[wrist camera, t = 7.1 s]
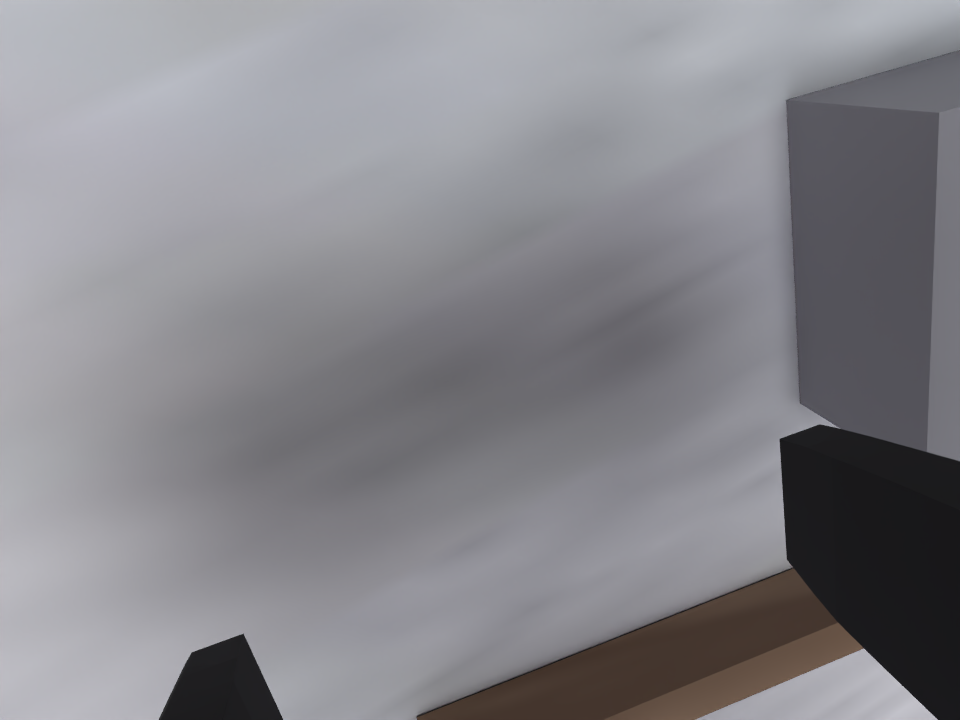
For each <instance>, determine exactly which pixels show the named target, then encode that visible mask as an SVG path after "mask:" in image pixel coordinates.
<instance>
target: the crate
mask: <svg viewBox="0 0 960 720" xmlns="http://www.w3.org/2000/svg"><path fill="white" fill-rule="evenodd" d="M786 104H787V126H788V148H789V170H790V193H791V215H792V237H793V259H794V281H795V303H796V326H797V348H798V370H799V392H800V403H801V404H802V405H804V406H806V407H807V408H809V409H810V410H812V411H814V412H815V413H817V414H818V415H820V416H821V417H823V418H825V419H826V420H828V421H829V422H831V423H832V424H834V425H836V426H837V427H839V428H840V429H843V430H847V431H851V432H855V433H859V434H863V435H867V436H871V437H874V438H878V439H882V440H885V441H889V442H893V443H896V444H900V445H904V446H907V447H911V448H914V449H918V450H921V451H925V452H929V453H932V454H936V455H939V456H943V457H946V458H950V459H954V460H957V461H960V50H959V51H955V52H952V53H948V54H945V55H941V56H938V57H934V58H931V59H927V60H924V61H920V62H917V63H913V64H910V65H906V66H903V67H900V68H896V69H893V70H889V71H886V72H882V73H879V74H875V75H872V76H868V77H865V78H861V79H858V80H854V81H851V82H847V83H844V84H840V85H837V86H833V87H830V88H826V89H823V90H819V91H816V92H812V93H809V94H805V95H802V96H798V97H795V98H791V99H788V100H786Z"/></svg>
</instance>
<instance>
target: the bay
mask: <svg viewBox="0 0 960 720" xmlns="http://www.w3.org/2000/svg"><path fill="white" fill-rule="evenodd" d="M861 649H863V647H862V646H861V645H860V644H859V643H858V642H857V641H856V640H855V639H854V638H853V637H852V636H851V635H850V634H849V633H848V632H847V631H846V630H845V629H844V628H843V627H842V626H841V625H840V624H839V623H838V622H837V621H836V620H835V619H834V617H833V616H832V615H831V614H830V613H829V611H828V610H827V609H826V608H825V607H824V605H823V604H822V603H821V602H820V601H819V599H818V598H817V597H816V596H815V595H814V593H813V592H812V591H811V590H810V588H809V587H808V586H807V584H806V583H805V582H804V581H803V579H802V578H801V577H800V575H799V574H798V573H797V572H796V570H795V569H794V568H793V569H791V570H788V571H786V572H783V573H781V574H778V575H775V576H773V577H770V578H768V579H765V580H763V581H760V582H758V583H755V584H753V585H750V586H748V587H745V588H743V589H740V590H738V591H735V592H732V593H730V594H727V595H725V596H722V597H720V598H717V599H715V600H712V601H710V602H707V603H705V604H702V605H700V606H697V607H695V608H692V609H689V610H687V611H684V612H682V613H679V614H677V615H674V616H672V617H669V618H667V619H664V620H662V621H659V622H657V623H654V624H652V625H649V626H646V627H644V628H641V629H639V630H636V631H634V632H631V633H629V634H626V635H624V636H621V637H619V638H616V639H614V640H611V641H608V642H606V643H603V644H601V645H598V646H596V647H593V648H591V649H588V650H586V651H583V652H581V653H578V654H576V655H573V656H571V657H568V658H565V659H563V660H560V661H558V662H555V663H553V664H550V665H548V666H545V667H543V668H540V669H538V670H535V671H533V672H530V673H528V674H525V675H522V676H520V677H517V678H515V679H512V680H510V681H507V682H505V683H502V684H500V685H497V686H495V687H492V688H490V689H487V690H485V691H482V692H479V693H477V694H474V695H472V696H469V697H467V698H464V699H462V700H459V701H457V702H454V703H452V704H449V705H447V706H444V707H442V708H439V709H436V710H434V711H431V712H429V713H426V714H424V715H421V716H419V717H417V720H695V719H697V718H700V717H702V716H704V715H707V714H709V713H712V712H714V711H716V710H719V709H721V708H723V707H726V706H728V705H731V704H733V703H735V702H738V701H740V700H742V699H745V698H747V697H749V696H752V695H754V694H757V693H759V692H761V691H764V690H766V689H768V688H771V687H773V686H776V685H778V684H780V683H783V682H785V681H787V680H790V679H792V678H795V677H797V676H799V675H802V674H804V673H806V672H809V671H811V670H813V669H816V668H818V667H821V666H823V665H825V664H828V663H830V662H832V661H835V660H837V659H840V658H842V657H844V656H847V655H849V654H851V653H854V652H856V651H859V650H861Z"/></svg>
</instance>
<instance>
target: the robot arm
mask: <svg viewBox="0 0 960 720" xmlns="http://www.w3.org/2000/svg"><path fill="white" fill-rule="evenodd" d="M780 452H781V469H782V485H783V502H784V518H785V535H786V551H787V560H788V561H789V563H790V564H791V565H792V566H793V568H794V569H795V570H796V572H797V573H798V574H799V575H800V577H801V578H802V579H803V581H804V582H805V583H806V584H807V586H808V587H809V588H810V590H811V591H812V592H813V593H814V595H815V596H816V597H817V598H818V599H819V601H820V602H821V603H822V604H823V605H824V607H825V608H826V609H827V610H828V611H829V613H830V614H831V615H832V616H833V617H834V619H835V620H836V621H837V622H838V623H839V624H840V625H841V626H842V627H843V628H844V629H845V630H846V631H847V632H848V633H849V634H850V635H851V636H852V637H853V638H854V639H855V640H856V641H857V642H858V643H859V644H860V645H861V646H862V647H863V648H864V649H865V650H866V651H867V652H868V653H869V654H870V655H871V656H872V657H873V658H875V659H876V660H877V661H878V662H879V663H880V664H881V665H882V666H883V667H884V668H885V669H886V670H887V671H888V672H889V673H890V674H891V675H892V676H893V677H894V678H895V679H896V680H897V681H898V682H899V683H900V684H901V685H902V686H904V687H905V688H906V689H907V690H908V691H909V692H910V693H911V694H912V695H913V696H914V697H915V698H916V699H917V700H918V701H919V702H920V703H921V704H922V705H923V706H924V707H925V708H926V709H927V710H929V711H930V712H931V713H932V714H933V715H934V716H935V717H936V718H937V719H938V720H960V461H957V460H954V459H950V458H946V457H943V456H939V455H936V454H932V453H929V452H925V451H921V450H918V449H914V448H911V447H907V446H904V445H900V444H896V443H893V442H889V441H885V440H882V439H878V438H874V437H871V436H867V435H863V434H859V433H855V432H851V431H847V430H843V429H839V428H834V427H829V426H825V425H817V426H814V427H811V428H809V429H806V430H803V431H800V432H798V433H795V434H792V435H789V436H787V437H784V438H781V439H780ZM159 720H283V718H282V716H281V714H280V712H279V710H278V707H277V705H276V703H275V701H274V699H273V697H272V694H271V692H270V690H269V688H268V686H267V684H266V682H265V679H264V677H263V675H262V673H261V671H260V669H259V666H258V664H257V662H256V660H255V658H254V656H253V653H252V651H251V649H250V647H249V645H248V643H247V640H246V638H245V636H244V634H242V635H239V636H236V637H233V638H231V639H228V640H225V641H222V642H220V643H217V644H214V645H211V646H209V647H206V648H203V649H200V650H198V651H195V652H192V653H191V655H190V657H189V659H188V660H187V662H186V664H185V666H184V668H183V670H182V672H181V674H180V676H179V678H178V680H177V682H176V684H175V686H174V689H173V691H172V693H171V695H170V697H169V699H168V701H167V703H166V705H165V708H164V710H163V712H162V714H161V716H160V718H159Z"/></svg>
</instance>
